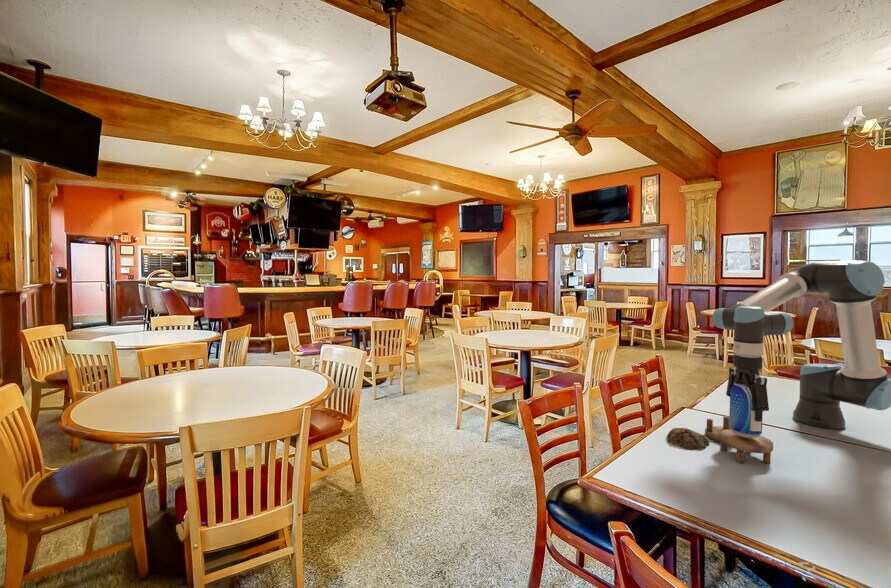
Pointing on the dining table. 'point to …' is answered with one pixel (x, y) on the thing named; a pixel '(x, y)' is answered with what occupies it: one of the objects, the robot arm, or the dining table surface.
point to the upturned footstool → (716, 429)
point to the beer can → (741, 411)
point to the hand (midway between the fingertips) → (745, 425)
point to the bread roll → (687, 439)
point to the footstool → (745, 445)
